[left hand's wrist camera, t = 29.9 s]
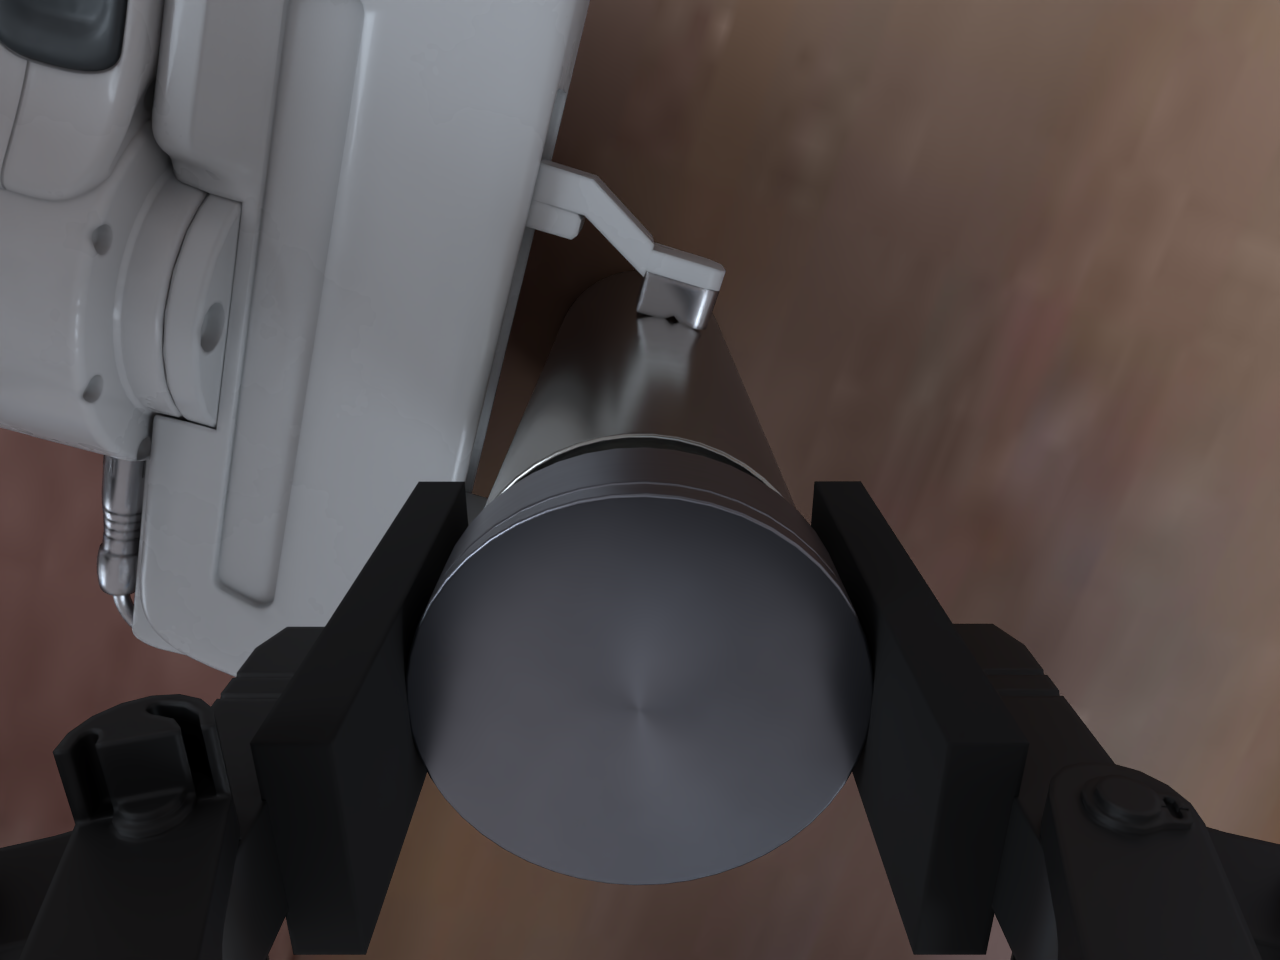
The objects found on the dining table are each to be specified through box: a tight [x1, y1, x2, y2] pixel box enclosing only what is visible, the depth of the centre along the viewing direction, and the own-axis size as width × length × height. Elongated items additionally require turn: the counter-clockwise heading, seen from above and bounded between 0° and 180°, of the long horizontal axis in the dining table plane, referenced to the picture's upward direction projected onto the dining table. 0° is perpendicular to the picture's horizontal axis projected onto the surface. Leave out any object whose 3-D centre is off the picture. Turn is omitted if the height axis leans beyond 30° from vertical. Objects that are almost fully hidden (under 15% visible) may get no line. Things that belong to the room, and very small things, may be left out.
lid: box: [406, 447, 874, 885], centre depth 11 cm, size 6×6×2 cm
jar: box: [484, 271, 796, 509], centre depth 20 cm, size 5×5×18 cm
